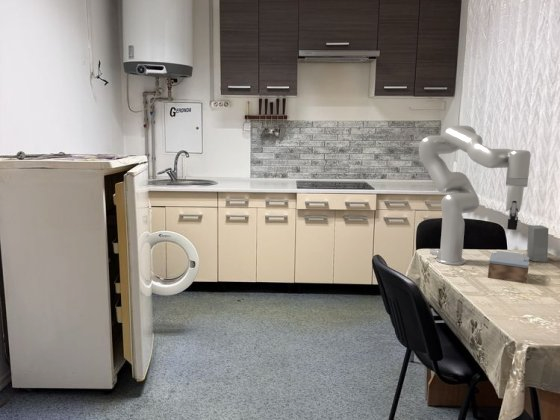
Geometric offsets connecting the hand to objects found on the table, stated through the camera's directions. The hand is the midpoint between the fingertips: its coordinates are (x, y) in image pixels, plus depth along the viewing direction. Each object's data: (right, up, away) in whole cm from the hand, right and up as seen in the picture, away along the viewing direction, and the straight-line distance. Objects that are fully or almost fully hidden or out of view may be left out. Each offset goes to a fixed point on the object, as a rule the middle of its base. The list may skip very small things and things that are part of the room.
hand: (512, 227), depth 177 cm
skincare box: (+28, -16, +33) cm, 47 cm away
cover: (+3, -14, +8) cm, 16 cm away
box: (+3, -20, +9) cm, 22 cm away
